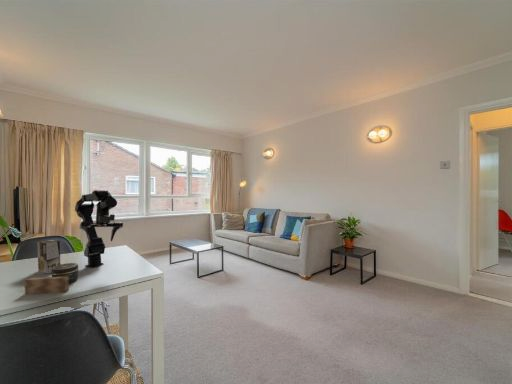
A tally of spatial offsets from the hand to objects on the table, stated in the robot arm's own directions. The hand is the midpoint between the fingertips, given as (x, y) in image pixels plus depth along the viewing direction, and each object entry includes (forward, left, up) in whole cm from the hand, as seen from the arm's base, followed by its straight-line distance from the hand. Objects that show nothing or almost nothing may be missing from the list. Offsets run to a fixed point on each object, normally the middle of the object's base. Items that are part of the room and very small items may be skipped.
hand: (101, 241), depth 123 cm
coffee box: (-31, -6, -17) cm, 36 cm away
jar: (-7, -13, -17) cm, 23 cm away
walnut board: (-2, -23, -17) cm, 29 cm away
